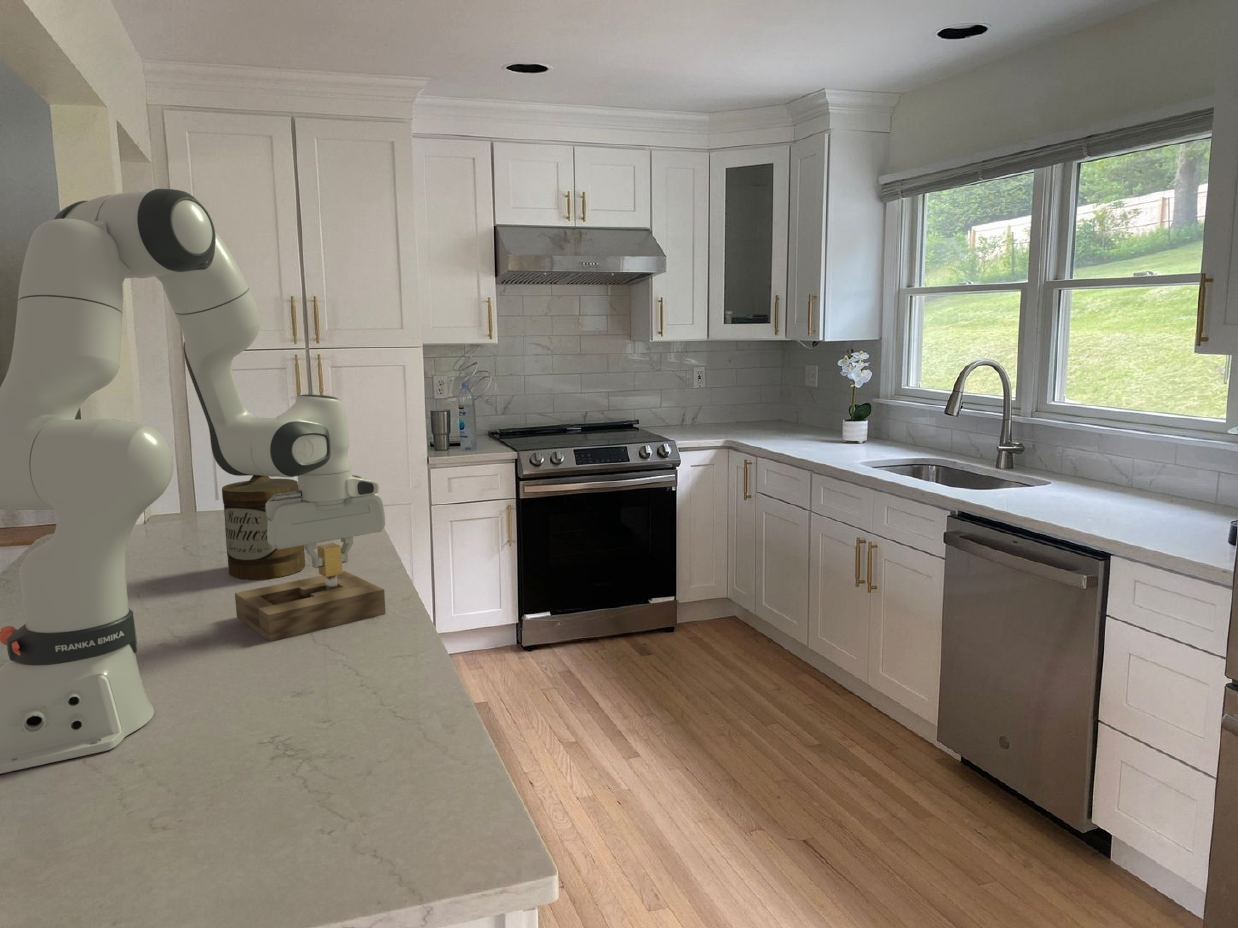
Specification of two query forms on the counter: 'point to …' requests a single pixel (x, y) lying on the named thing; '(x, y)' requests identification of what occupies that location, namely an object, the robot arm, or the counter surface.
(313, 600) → the keyhole plate
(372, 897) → the counter surface
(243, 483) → the wooden container
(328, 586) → the keyhole peg
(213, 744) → the counter surface
